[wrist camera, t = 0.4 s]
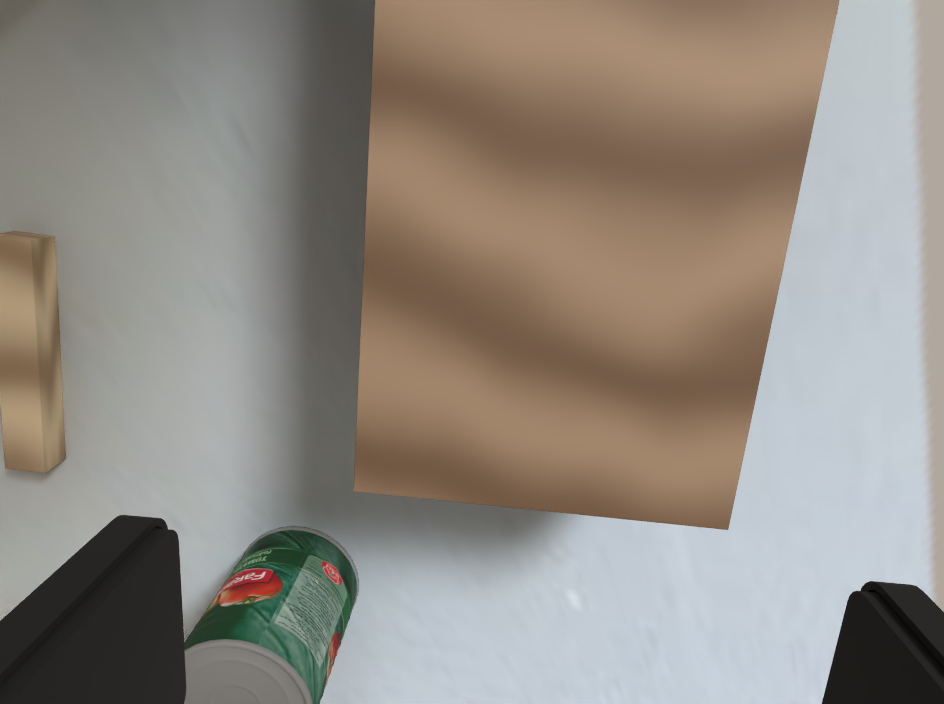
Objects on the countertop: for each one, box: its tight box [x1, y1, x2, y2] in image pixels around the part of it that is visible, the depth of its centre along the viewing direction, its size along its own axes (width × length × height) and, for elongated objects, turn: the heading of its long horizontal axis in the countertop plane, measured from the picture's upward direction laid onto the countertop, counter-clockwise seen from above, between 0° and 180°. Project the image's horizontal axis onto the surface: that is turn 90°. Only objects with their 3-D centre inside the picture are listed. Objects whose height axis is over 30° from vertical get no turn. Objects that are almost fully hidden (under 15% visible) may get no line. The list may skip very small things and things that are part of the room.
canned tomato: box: [184, 526, 359, 704], centre depth 39 cm, size 8×8×11 cm
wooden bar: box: [0, 231, 66, 473], centre depth 40 cm, size 14×2×2 cm, turn 173°
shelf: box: [354, 0, 839, 530], centre depth 30 cm, size 29×15×14 cm, turn 175°
